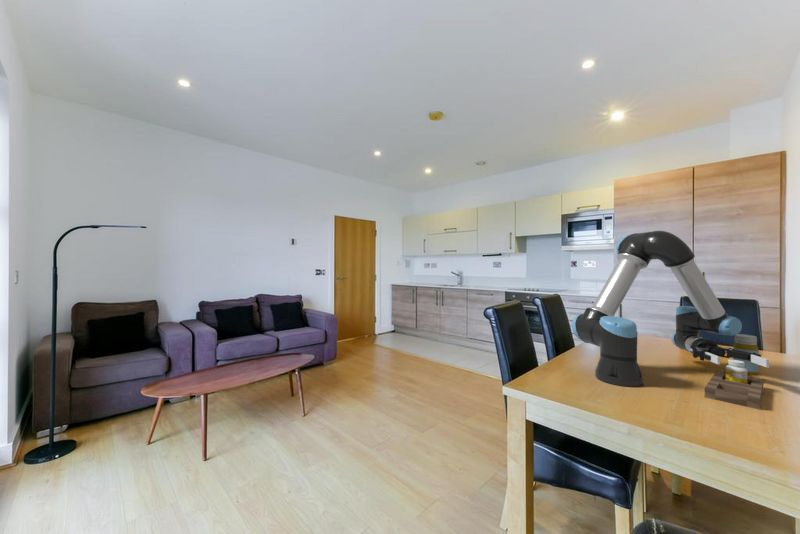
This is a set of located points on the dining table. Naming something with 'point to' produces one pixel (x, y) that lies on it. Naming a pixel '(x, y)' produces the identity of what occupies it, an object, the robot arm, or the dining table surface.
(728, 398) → the slot rack
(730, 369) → the supplement bottle
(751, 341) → the bottle
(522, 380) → the dining table surface
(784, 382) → the dining table surface
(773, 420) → the dining table surface
